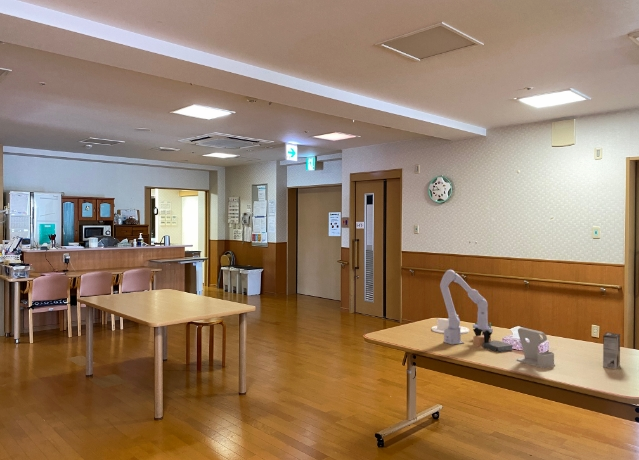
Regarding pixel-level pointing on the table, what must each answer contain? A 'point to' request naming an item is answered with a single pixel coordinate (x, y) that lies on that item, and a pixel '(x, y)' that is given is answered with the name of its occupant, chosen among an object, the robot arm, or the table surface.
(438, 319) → the dish
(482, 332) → the mechanical component
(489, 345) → the dark grey flat block
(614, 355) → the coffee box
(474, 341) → the housing
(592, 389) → the table surface
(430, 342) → the table surface
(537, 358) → the phone holder
